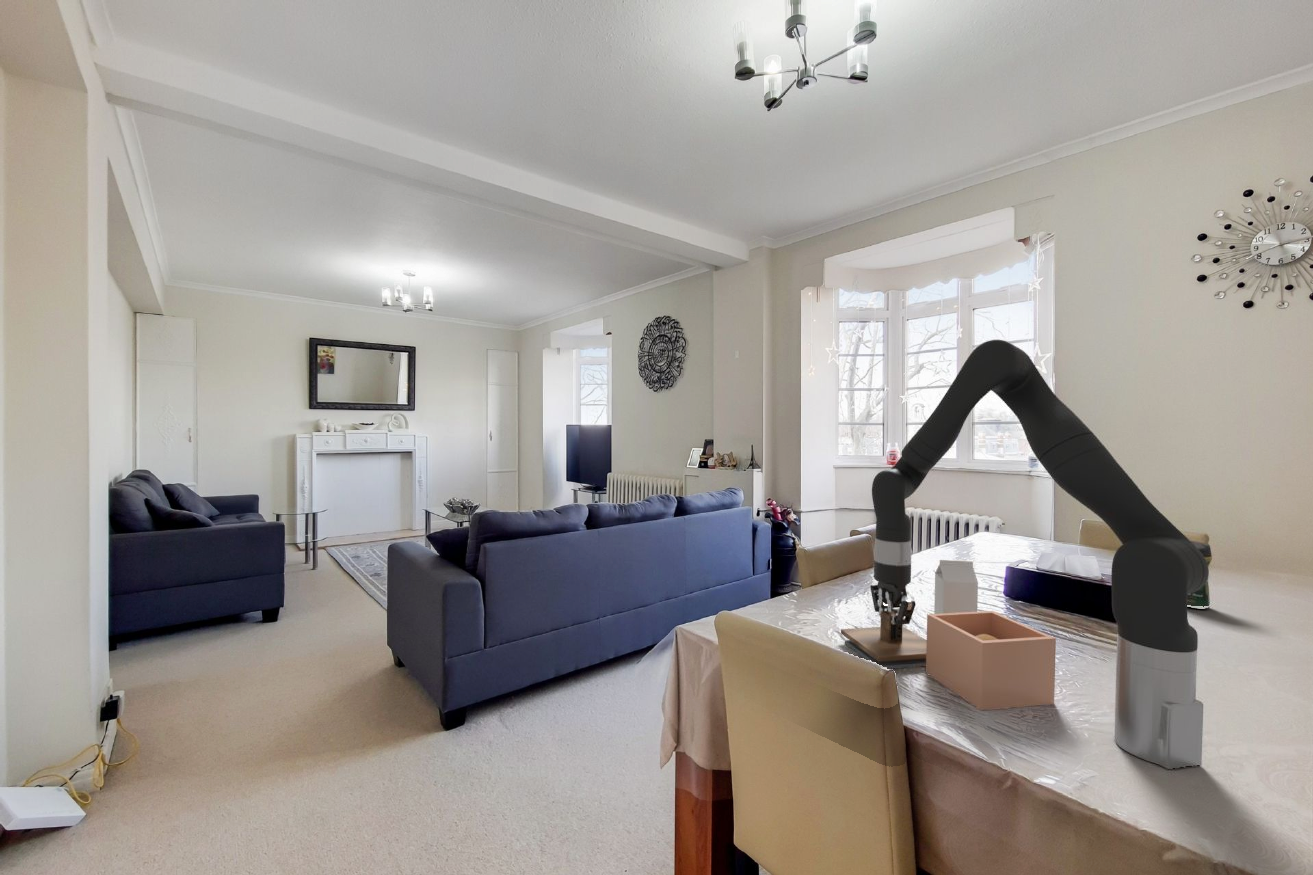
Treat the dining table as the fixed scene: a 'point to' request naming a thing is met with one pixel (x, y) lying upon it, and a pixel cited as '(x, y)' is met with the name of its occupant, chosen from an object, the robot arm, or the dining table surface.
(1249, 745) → the dining table surface
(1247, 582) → the dining table surface
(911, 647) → the lid
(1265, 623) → the dining table surface
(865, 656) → the mat
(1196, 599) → the coffee jar
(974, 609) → the milk carton
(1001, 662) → the tan open box
